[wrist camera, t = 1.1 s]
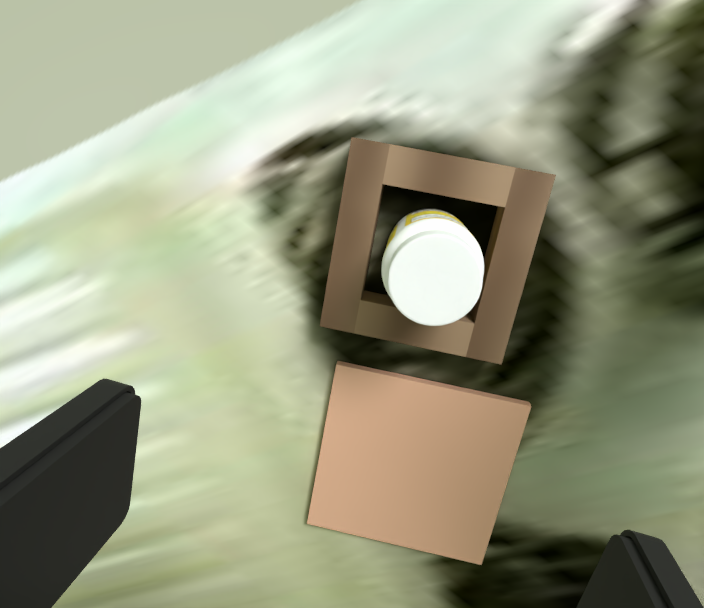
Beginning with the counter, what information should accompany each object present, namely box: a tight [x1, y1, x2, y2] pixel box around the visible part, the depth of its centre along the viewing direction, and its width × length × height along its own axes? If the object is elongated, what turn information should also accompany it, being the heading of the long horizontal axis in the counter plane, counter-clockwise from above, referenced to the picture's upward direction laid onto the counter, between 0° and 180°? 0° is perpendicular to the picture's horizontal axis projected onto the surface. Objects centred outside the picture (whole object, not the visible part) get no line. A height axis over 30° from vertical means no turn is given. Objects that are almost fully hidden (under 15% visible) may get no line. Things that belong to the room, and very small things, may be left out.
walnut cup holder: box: [320, 137, 556, 364], centre depth 28 cm, size 10×10×2 cm
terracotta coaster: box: [307, 361, 531, 565], centre depth 33 cm, size 12×12×1 cm
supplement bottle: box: [381, 208, 484, 326], centre depth 25 cm, size 5×5×8 cm
